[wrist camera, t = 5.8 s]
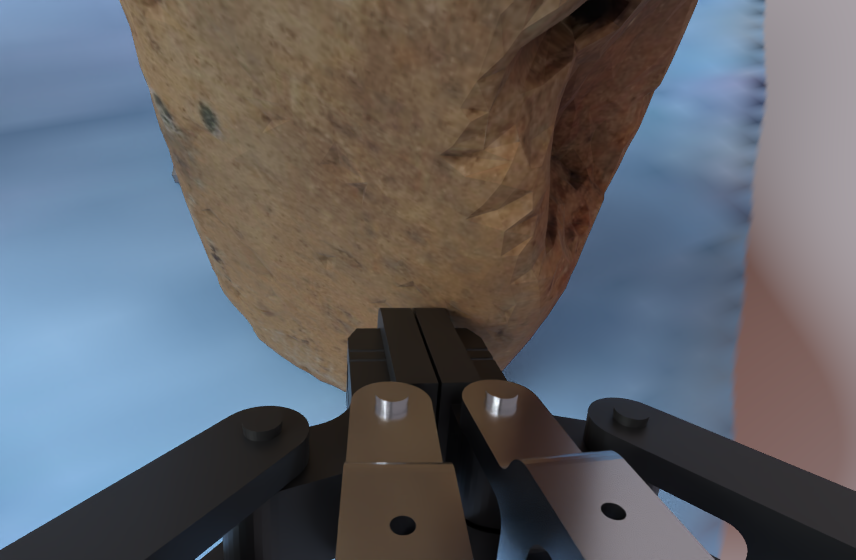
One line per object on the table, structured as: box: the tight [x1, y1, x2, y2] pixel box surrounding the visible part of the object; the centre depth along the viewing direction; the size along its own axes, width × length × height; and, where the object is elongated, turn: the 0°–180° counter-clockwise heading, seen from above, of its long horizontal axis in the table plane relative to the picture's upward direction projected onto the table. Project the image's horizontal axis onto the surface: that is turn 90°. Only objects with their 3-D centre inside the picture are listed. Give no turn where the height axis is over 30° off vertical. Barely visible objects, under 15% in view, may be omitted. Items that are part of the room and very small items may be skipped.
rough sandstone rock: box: [119, 0, 698, 392], centre depth 16 cm, size 11×8×20 cm
